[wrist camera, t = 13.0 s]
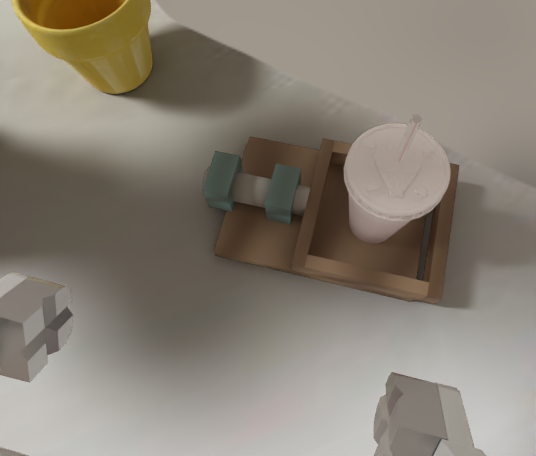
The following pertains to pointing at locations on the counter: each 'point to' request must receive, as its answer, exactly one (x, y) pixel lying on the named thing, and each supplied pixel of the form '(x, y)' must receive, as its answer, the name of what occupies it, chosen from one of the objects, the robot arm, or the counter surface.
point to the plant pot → (94, 38)
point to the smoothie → (393, 178)
